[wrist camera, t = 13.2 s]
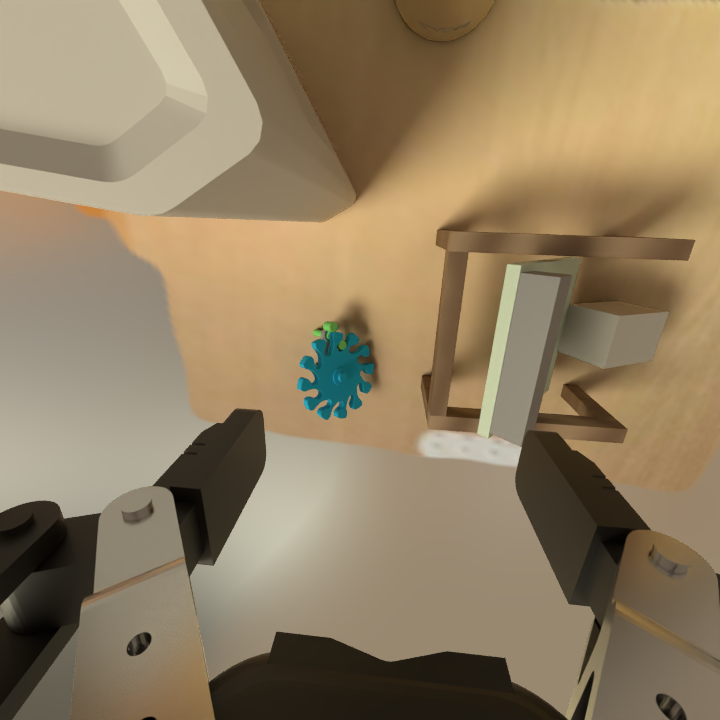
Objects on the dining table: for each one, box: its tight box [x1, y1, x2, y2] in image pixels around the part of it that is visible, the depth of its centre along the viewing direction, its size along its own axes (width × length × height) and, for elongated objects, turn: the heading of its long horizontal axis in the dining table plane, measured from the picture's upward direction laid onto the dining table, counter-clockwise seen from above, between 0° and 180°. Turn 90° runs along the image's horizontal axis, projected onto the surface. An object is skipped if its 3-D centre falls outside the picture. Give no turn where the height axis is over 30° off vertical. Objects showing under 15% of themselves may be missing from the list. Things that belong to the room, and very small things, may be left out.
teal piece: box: [297, 322, 374, 420], centre depth 41 cm, size 11×6×10 cm
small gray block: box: [558, 301, 669, 369], centre depth 35 cm, size 5×5×7 cm
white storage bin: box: [0, 0, 357, 222], centre depth 22 cm, size 19×15×28 cm
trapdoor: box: [477, 257, 581, 447], centre depth 31 cm, size 14×14×4 cm
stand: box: [421, 230, 695, 443], centre depth 35 cm, size 18×18×10 cm
